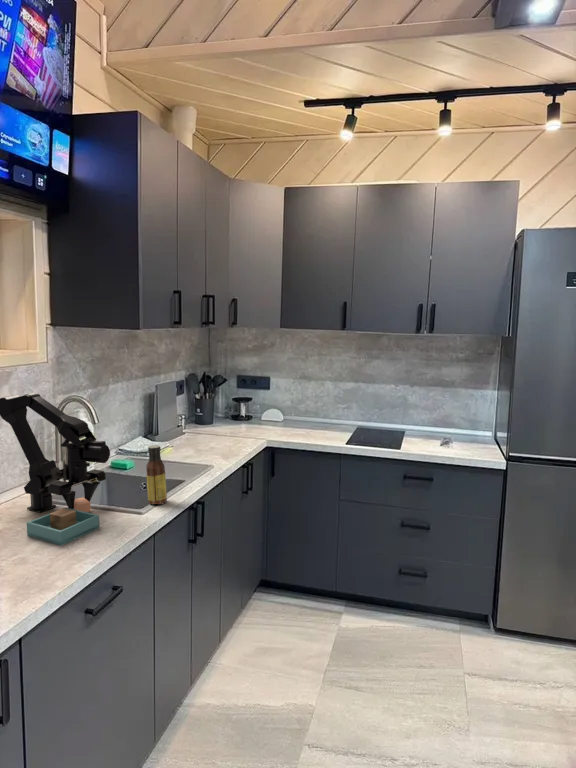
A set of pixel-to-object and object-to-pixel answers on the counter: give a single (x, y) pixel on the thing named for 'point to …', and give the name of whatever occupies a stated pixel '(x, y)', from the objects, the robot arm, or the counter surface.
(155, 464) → the sauce bottle
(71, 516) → the walnut block
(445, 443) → the counter surface
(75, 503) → the terracotta carton
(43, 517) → the tote
